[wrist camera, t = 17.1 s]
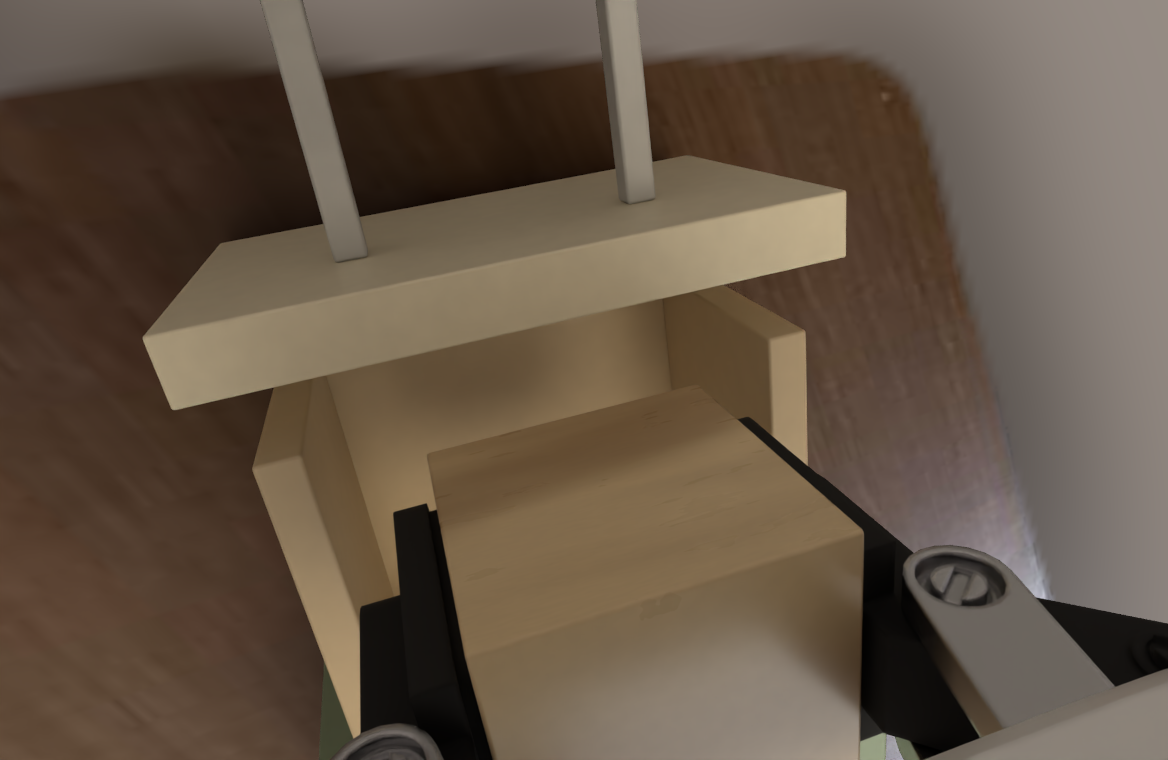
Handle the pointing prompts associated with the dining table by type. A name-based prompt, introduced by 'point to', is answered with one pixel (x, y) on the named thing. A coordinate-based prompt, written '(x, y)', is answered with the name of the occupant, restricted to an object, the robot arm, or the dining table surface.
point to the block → (652, 589)
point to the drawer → (480, 323)
